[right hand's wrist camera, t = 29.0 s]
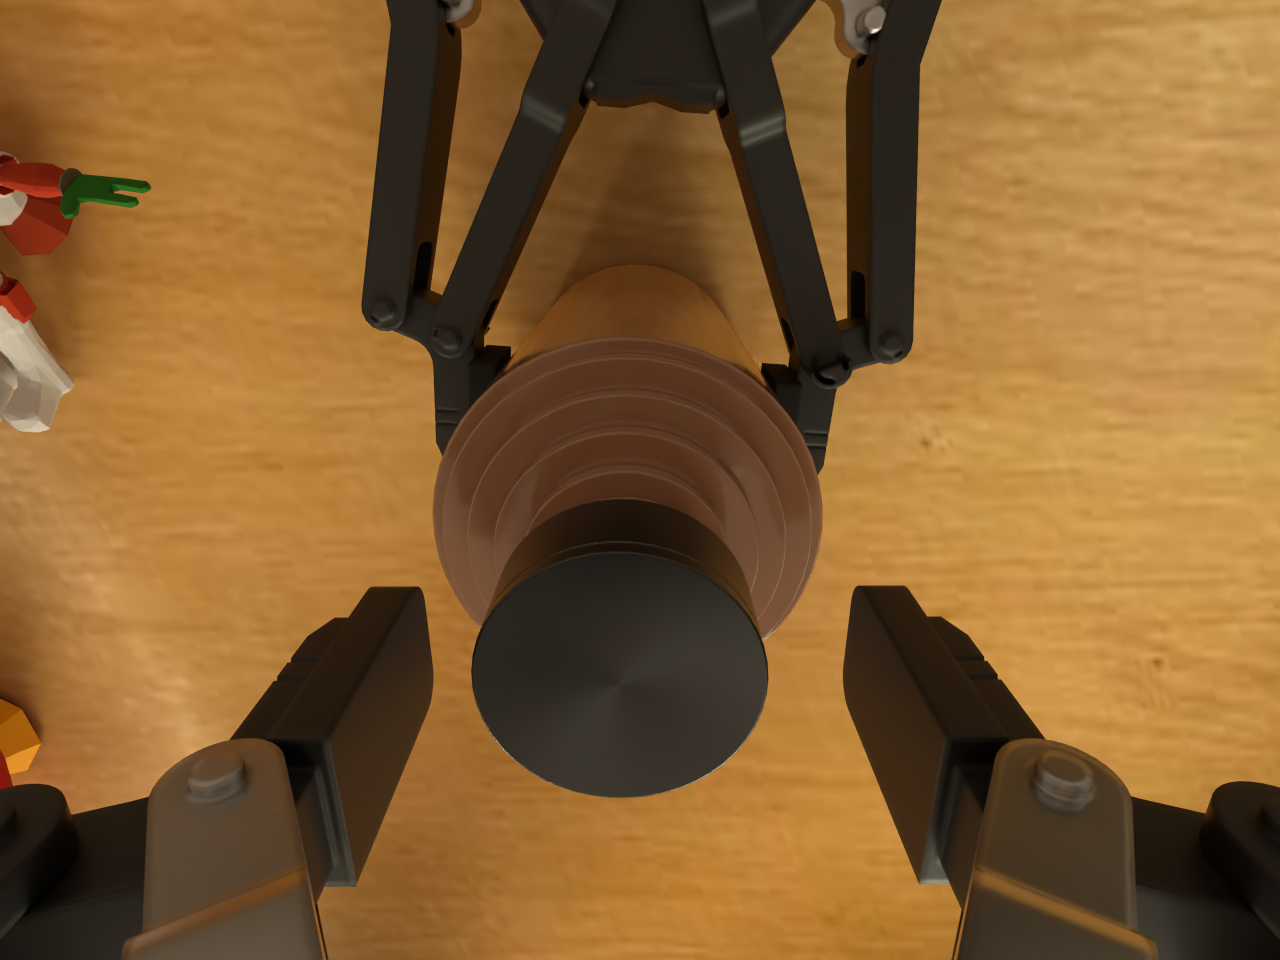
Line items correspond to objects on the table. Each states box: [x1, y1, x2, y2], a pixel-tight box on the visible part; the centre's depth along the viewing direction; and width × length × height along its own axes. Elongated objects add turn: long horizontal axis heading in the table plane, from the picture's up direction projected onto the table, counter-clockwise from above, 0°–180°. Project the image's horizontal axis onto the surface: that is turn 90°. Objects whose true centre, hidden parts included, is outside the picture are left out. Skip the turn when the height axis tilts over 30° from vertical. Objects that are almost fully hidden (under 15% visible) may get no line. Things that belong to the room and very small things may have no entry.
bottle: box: [433, 264, 822, 642], centre depth 20 cm, size 8×8×19 cm
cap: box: [471, 499, 768, 798], centre depth 11 cm, size 4×4×2 cm
